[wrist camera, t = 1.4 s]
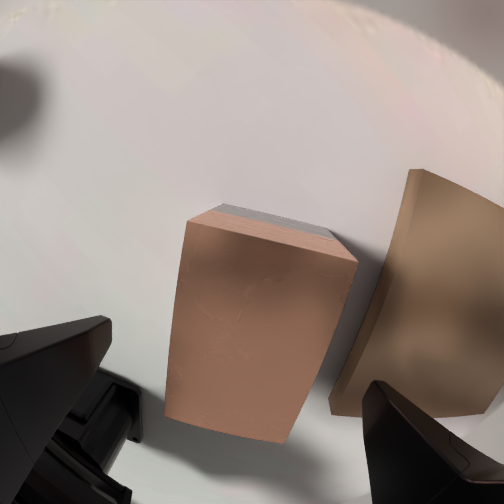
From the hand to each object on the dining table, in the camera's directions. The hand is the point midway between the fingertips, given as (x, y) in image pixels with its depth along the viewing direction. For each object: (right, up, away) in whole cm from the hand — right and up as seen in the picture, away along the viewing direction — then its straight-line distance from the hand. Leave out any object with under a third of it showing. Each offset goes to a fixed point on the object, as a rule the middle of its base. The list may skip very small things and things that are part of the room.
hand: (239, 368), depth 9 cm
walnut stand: (+13, 0, +5) cm, 15 cm away
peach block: (+1, +2, +6) cm, 6 cm away
